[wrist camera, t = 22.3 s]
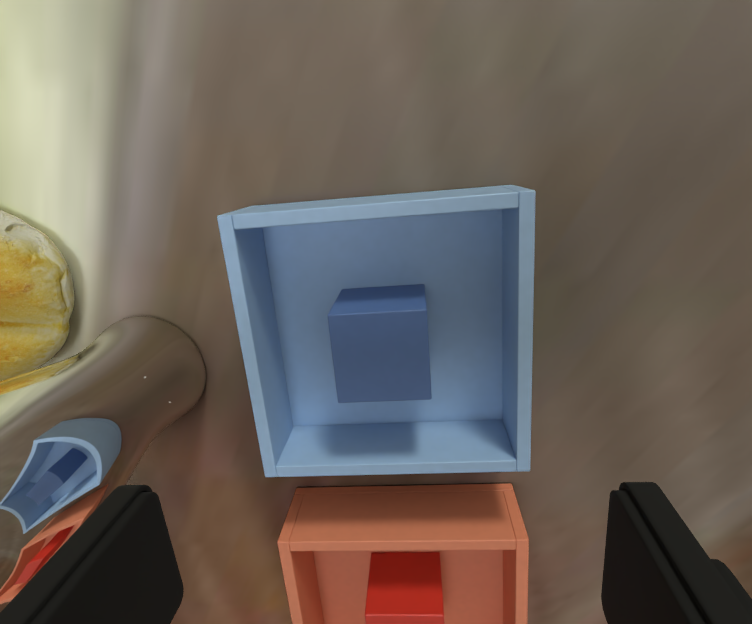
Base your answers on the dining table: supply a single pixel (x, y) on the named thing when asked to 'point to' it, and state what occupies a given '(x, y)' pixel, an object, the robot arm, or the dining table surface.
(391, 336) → the blue block
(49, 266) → the bread roll
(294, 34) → the dining table surface
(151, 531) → the robot arm
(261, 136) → the dining table surface
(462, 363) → the blue bin
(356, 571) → the terracotta bin
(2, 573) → the beer glass
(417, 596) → the red block
